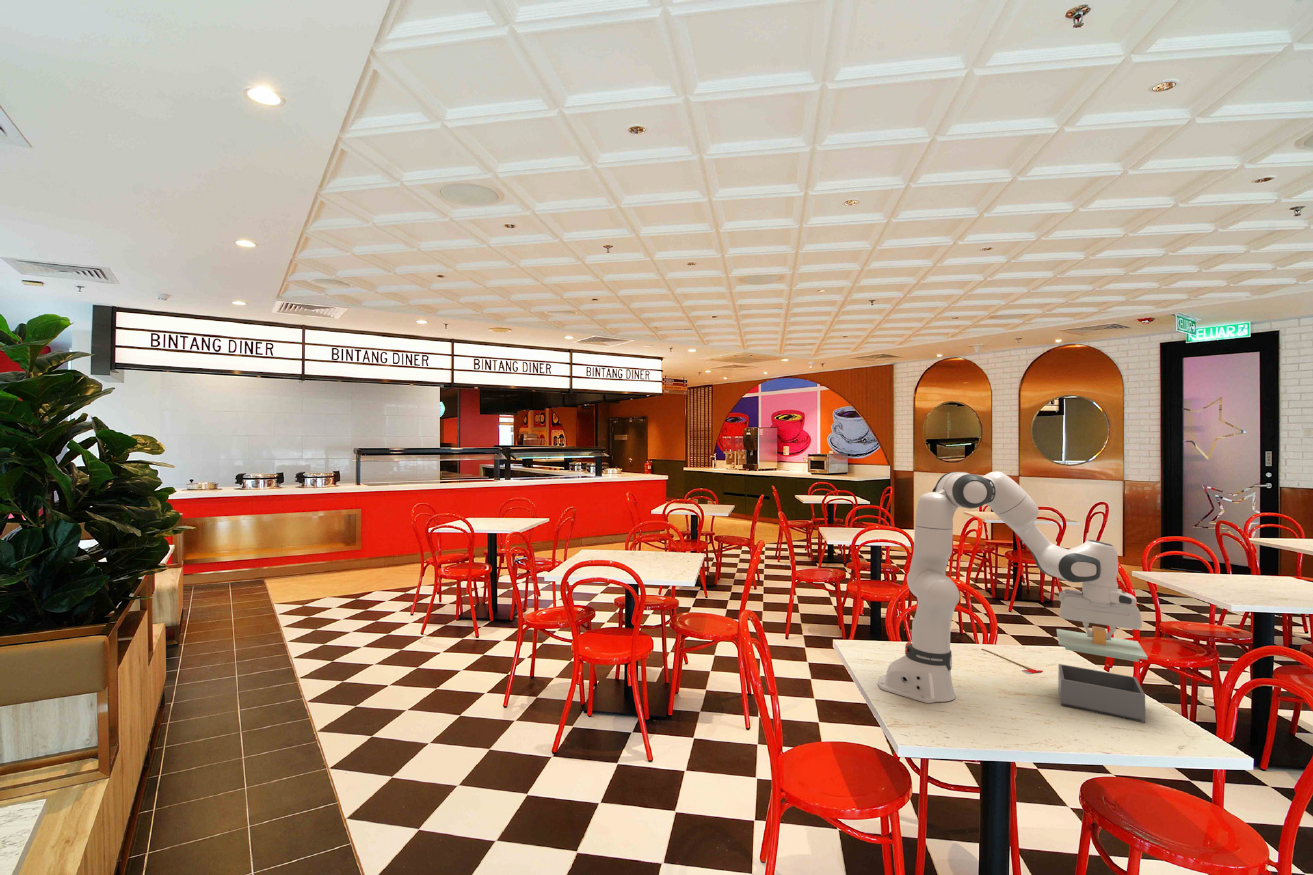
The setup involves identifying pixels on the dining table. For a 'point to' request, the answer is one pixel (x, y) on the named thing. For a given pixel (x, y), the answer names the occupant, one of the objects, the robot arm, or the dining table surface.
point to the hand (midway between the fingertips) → (1098, 638)
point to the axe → (1028, 671)
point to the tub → (1101, 692)
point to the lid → (1101, 644)
